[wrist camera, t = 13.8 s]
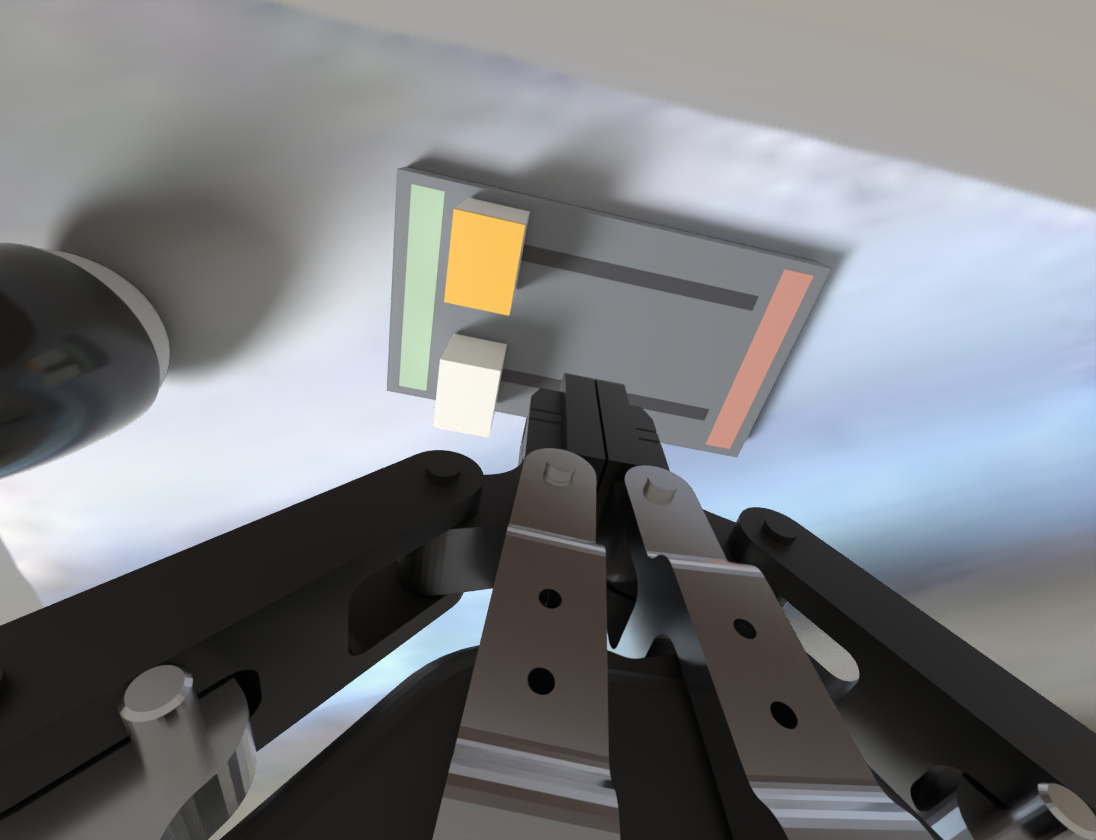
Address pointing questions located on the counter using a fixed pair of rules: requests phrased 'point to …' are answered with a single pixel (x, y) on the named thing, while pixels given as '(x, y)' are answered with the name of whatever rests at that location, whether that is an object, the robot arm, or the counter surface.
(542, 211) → the switch panel
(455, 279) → the block
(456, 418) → the on breaker
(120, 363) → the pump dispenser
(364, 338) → the counter surface
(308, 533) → the robot arm
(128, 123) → the counter surface
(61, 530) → the counter surface
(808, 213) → the counter surface
